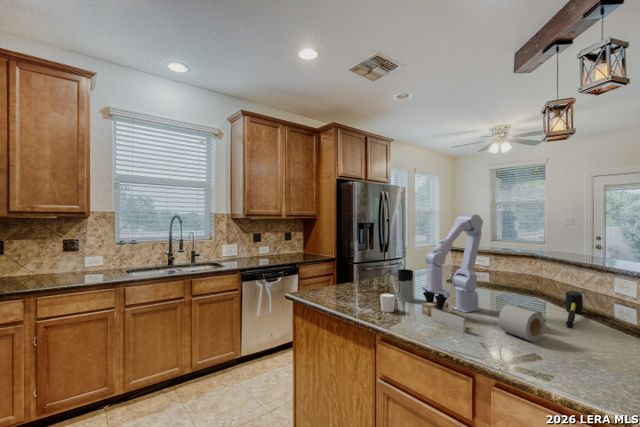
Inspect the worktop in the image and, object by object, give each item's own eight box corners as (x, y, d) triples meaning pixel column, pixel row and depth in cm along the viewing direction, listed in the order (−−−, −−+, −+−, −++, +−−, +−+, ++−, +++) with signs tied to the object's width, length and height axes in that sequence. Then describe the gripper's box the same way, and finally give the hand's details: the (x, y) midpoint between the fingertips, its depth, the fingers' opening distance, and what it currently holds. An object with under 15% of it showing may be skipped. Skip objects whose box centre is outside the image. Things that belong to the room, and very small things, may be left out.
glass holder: (416, 301, 155) (416, 272, 155) (388, 301, 155) (388, 272, 155) (411, 297, 164) (411, 269, 164) (384, 297, 164) (384, 269, 164)
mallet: (580, 331, 117) (580, 305, 117) (560, 327, 121) (560, 302, 121) (583, 312, 138) (583, 291, 138) (566, 310, 142) (566, 289, 142)
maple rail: (442, 310, 142) (442, 300, 142) (448, 312, 138) (448, 302, 138) (422, 313, 137) (422, 303, 137) (427, 316, 134) (427, 305, 134)
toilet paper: (498, 333, 114) (498, 306, 114) (516, 329, 118) (516, 303, 118) (526, 344, 104) (526, 314, 104) (544, 339, 108) (544, 311, 108)
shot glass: (395, 313, 137) (395, 297, 137) (380, 312, 139) (380, 296, 139) (395, 308, 144) (395, 293, 144) (380, 307, 145) (380, 292, 146)
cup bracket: (473, 330, 116) (473, 317, 116) (463, 332, 114) (463, 319, 114) (440, 317, 131) (440, 306, 131) (431, 319, 129) (431, 307, 129)
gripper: (416, 277, 143) (416, 306, 143) (441, 283, 129) (441, 315, 129) (428, 275, 146) (428, 304, 145) (453, 281, 132) (453, 313, 132)
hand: (435, 309), depth 138 cm, fingers open, 5 cm apart
